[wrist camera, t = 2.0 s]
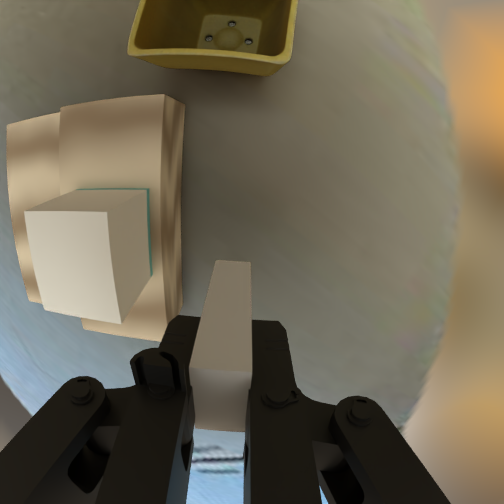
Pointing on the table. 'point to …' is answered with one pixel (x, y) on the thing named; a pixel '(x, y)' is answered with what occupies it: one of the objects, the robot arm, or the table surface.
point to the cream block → (91, 251)
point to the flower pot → (215, 34)
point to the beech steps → (107, 176)
